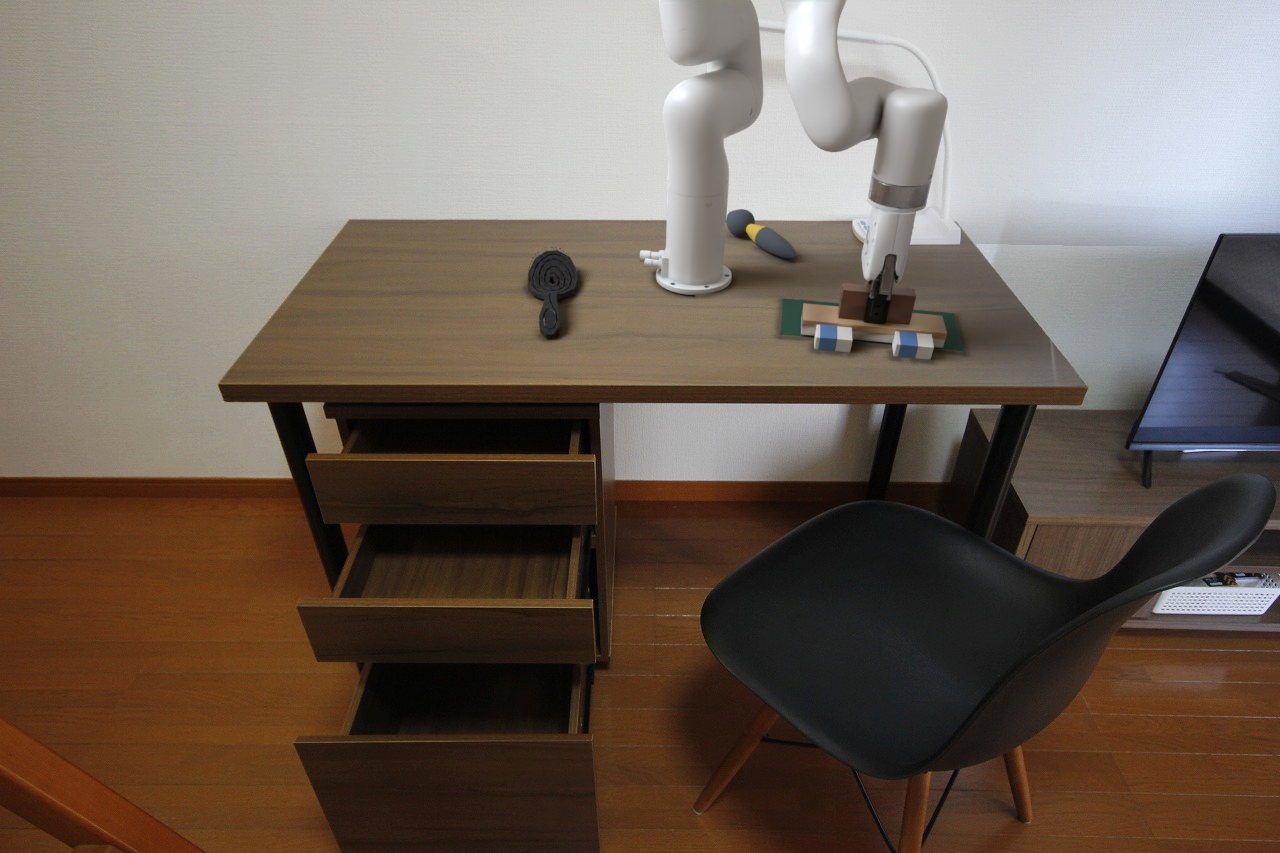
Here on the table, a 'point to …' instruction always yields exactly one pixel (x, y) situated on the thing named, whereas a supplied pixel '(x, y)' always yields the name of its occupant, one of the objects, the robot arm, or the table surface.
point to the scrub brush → (852, 316)
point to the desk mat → (793, 328)
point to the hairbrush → (552, 287)
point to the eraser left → (833, 338)
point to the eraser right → (912, 345)
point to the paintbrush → (759, 234)
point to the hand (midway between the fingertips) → (873, 316)
